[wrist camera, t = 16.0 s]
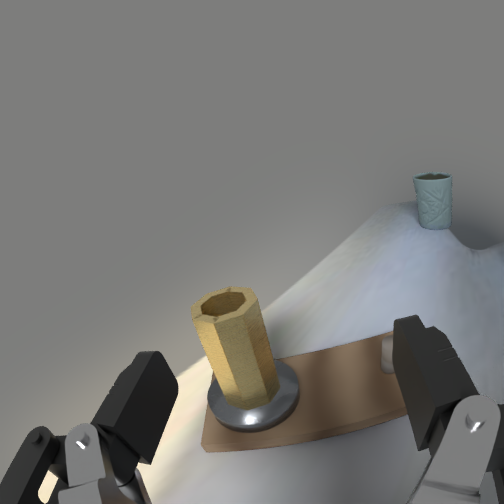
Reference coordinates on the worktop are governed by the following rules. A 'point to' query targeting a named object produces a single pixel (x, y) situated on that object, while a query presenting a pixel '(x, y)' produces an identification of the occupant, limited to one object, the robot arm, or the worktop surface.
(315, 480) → the worktop surface
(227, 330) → the brass sleeve
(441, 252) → the worktop surface
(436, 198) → the pale green pot
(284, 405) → the disc
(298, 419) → the walnut board
